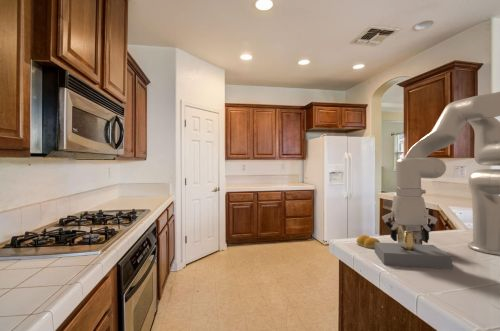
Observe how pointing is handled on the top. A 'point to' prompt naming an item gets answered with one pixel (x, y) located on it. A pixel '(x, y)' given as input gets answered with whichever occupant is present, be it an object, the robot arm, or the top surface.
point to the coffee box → (409, 228)
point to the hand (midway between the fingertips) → (409, 240)
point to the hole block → (413, 255)
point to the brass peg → (408, 241)
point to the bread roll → (367, 241)
